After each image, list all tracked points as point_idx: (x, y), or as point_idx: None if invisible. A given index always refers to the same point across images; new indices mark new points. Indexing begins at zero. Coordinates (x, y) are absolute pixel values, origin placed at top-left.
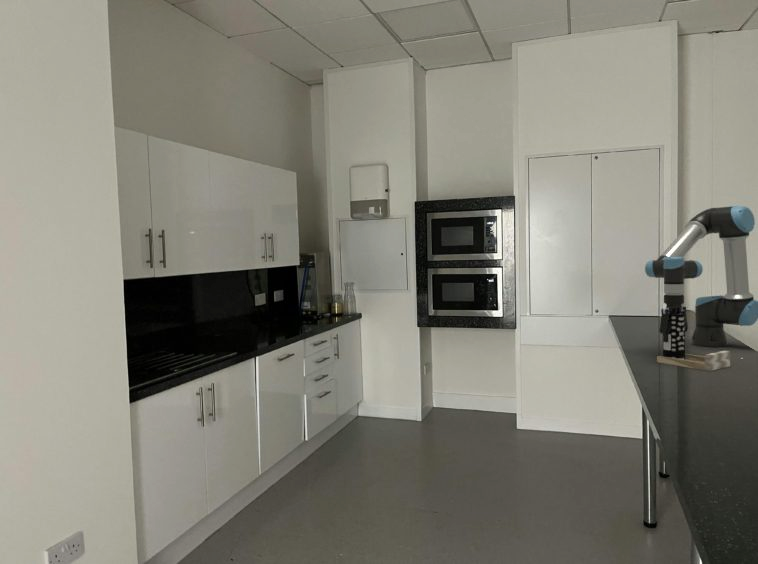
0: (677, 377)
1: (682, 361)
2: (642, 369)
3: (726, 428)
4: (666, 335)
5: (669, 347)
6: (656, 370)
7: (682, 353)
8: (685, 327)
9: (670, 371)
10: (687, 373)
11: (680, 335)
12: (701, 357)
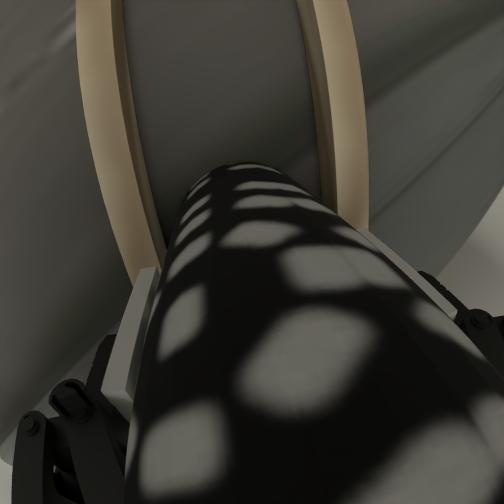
0: (490, 22)
1: (357, 86)
2: (490, 176)
3: None
4: (467, 310)
5: (375, 239)
6: (478, 128)
7: (256, 174)
8: (49, 445)
9: (459, 76)
10: (435, 7)
11: (359, 249)
12: (121, 102)
